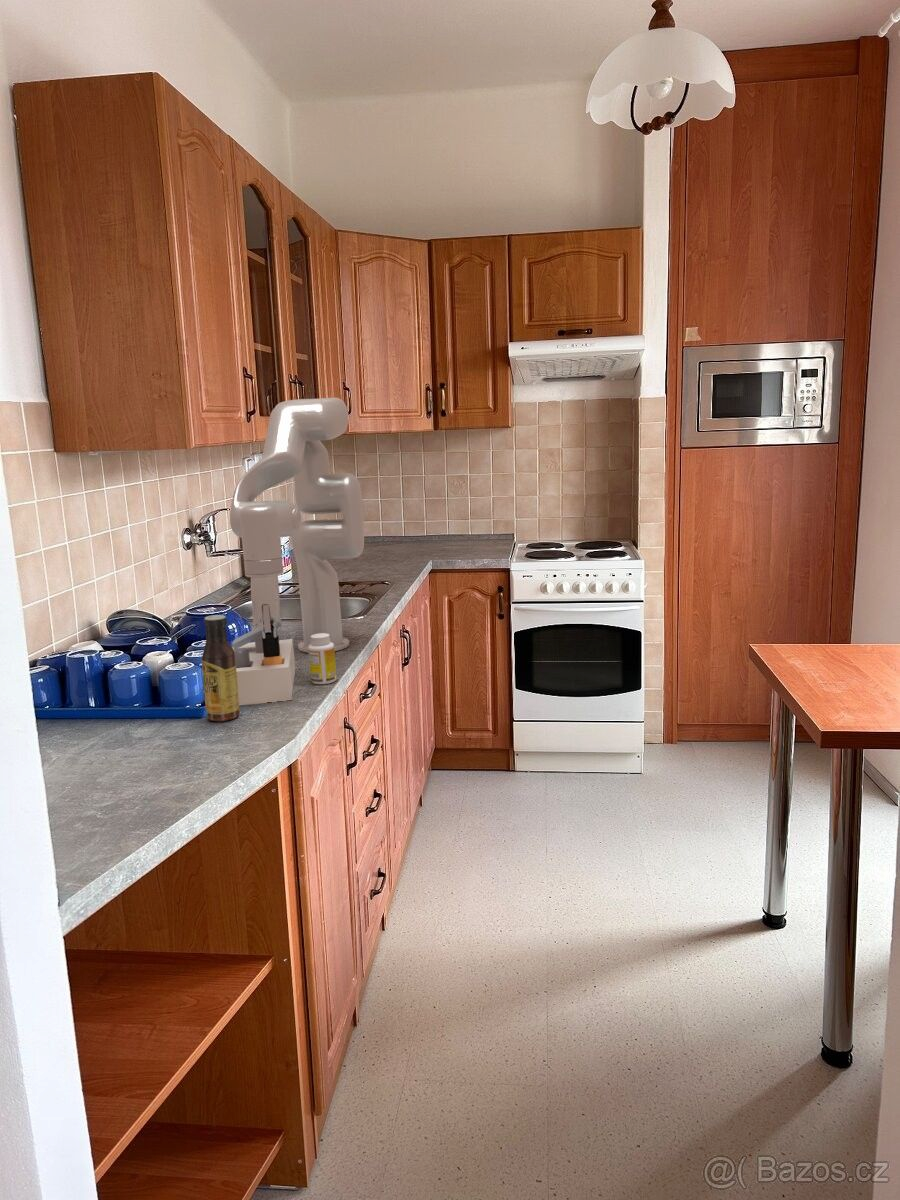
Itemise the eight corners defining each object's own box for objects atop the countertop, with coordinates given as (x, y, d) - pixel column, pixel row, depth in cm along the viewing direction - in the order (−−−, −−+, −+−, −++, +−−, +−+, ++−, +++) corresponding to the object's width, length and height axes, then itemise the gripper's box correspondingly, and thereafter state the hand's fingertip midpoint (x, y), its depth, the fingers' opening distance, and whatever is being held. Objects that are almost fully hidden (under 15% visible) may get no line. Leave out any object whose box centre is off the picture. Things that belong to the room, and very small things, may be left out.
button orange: (267, 689, 184) (264, 654, 182) (284, 687, 184) (281, 652, 183) (266, 694, 180) (262, 658, 179) (284, 692, 181) (280, 657, 179)
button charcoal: (235, 684, 183) (231, 649, 181) (252, 682, 183) (249, 647, 182) (233, 689, 179) (229, 653, 178) (251, 687, 180) (247, 652, 178)
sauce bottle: (201, 718, 170) (190, 617, 166) (231, 710, 174) (221, 611, 170) (216, 725, 165) (205, 622, 161) (247, 717, 169) (236, 616, 165)
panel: (236, 673, 200) (232, 628, 198) (295, 668, 201) (291, 624, 199) (225, 706, 176) (220, 655, 174) (291, 700, 178) (286, 650, 176)
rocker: (239, 648, 194) (234, 639, 194) (284, 625, 195) (279, 616, 194) (237, 654, 189) (231, 645, 188) (283, 631, 189) (278, 622, 189)
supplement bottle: (337, 676, 193) (333, 631, 191) (336, 684, 188) (332, 637, 186) (311, 678, 193) (307, 633, 191) (310, 686, 187) (306, 639, 185)
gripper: (247, 563, 184) (256, 648, 187) (241, 574, 169) (250, 667, 173) (284, 560, 185) (292, 645, 188) (281, 571, 170) (289, 663, 174)
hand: (272, 655), depth 181 cm, fingers closed
